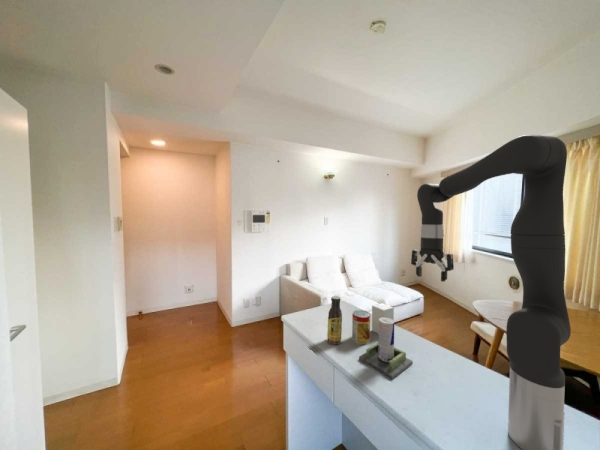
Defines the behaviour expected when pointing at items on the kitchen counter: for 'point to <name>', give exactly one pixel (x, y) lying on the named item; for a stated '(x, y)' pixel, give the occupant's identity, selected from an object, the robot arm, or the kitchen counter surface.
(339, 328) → the sauce bottle
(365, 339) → the canned food
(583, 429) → the kitchen counter surface
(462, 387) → the kitchen counter surface
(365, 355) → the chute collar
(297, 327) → the kitchen counter surface
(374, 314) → the supplement box
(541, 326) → the robot arm
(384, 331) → the beverage can
